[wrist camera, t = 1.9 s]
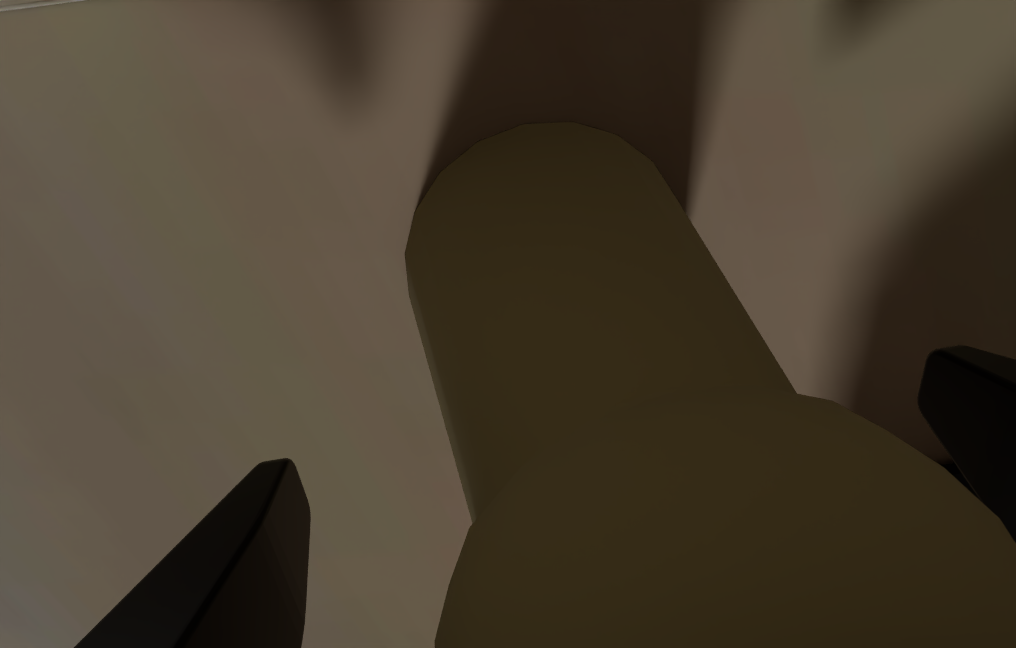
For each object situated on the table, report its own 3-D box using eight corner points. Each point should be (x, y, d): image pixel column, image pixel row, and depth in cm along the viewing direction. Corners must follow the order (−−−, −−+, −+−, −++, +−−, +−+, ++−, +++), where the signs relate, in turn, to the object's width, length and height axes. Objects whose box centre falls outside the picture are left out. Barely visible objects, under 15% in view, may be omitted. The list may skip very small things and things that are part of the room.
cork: (414, 103, 12) (398, 610, 2) (717, 139, 13) (1532, 598, 4) (396, 376, 15) (355, 1116, 5) (647, 388, 16) (997, 1027, 6)
